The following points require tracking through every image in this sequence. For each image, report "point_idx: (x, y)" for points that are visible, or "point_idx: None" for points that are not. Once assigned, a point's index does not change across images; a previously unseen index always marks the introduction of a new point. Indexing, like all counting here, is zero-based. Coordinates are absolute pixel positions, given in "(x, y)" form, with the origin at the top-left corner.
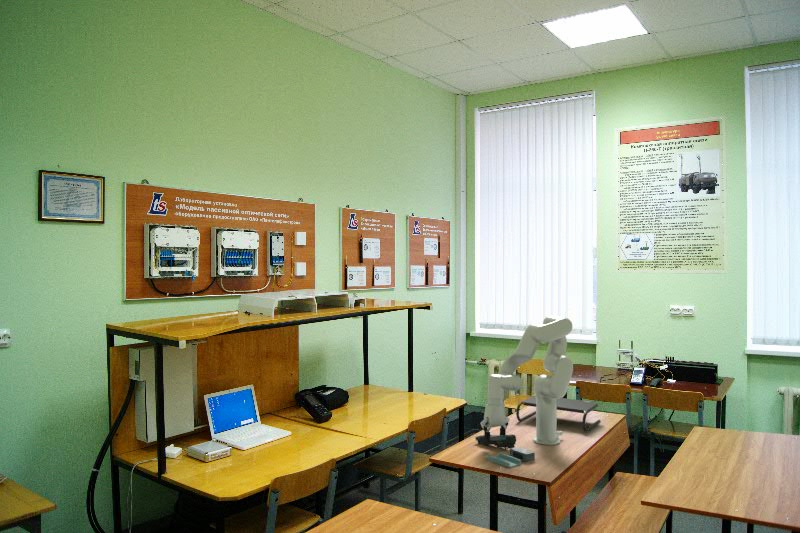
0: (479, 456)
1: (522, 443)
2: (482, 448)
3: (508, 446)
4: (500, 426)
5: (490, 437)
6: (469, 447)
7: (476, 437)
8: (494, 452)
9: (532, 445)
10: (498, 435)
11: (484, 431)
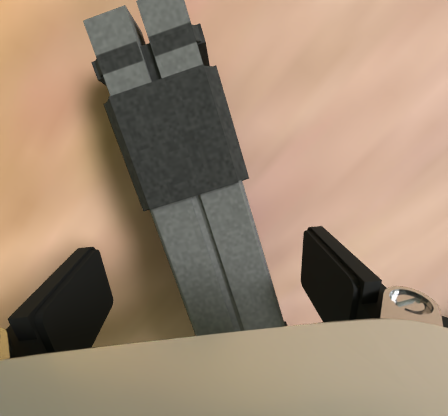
0: (5, 316)
1: (433, 247)
2: (107, 200)
3: None
4: (380, 309)
5: (165, 248)
6: (10, 122)
7: (94, 46)
8: (139, 300)
9: (437, 302)
10: (254, 281)
11: (18, 308)
